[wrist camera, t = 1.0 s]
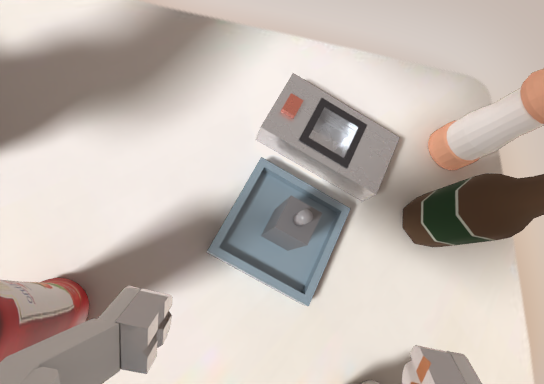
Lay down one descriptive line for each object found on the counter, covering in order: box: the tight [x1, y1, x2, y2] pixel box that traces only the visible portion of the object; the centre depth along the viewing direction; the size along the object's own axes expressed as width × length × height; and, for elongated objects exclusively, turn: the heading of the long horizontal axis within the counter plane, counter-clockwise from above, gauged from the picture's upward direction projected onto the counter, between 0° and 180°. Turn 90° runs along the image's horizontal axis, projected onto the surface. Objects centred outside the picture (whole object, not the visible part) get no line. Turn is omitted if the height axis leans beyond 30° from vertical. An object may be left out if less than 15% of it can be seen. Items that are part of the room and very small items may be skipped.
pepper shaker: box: [428, 69, 544, 170], centre depth 43 cm, size 7×7×19 cm
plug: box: [261, 196, 322, 251], centre depth 37 cm, size 4×4×10 cm
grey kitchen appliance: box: [256, 73, 400, 201], centre depth 45 cm, size 18×10×5 cm, turn 63°
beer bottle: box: [403, 174, 544, 247], centre depth 37 cm, size 8×8×24 cm
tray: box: [207, 157, 351, 306], centre depth 41 cm, size 14×14×2 cm
